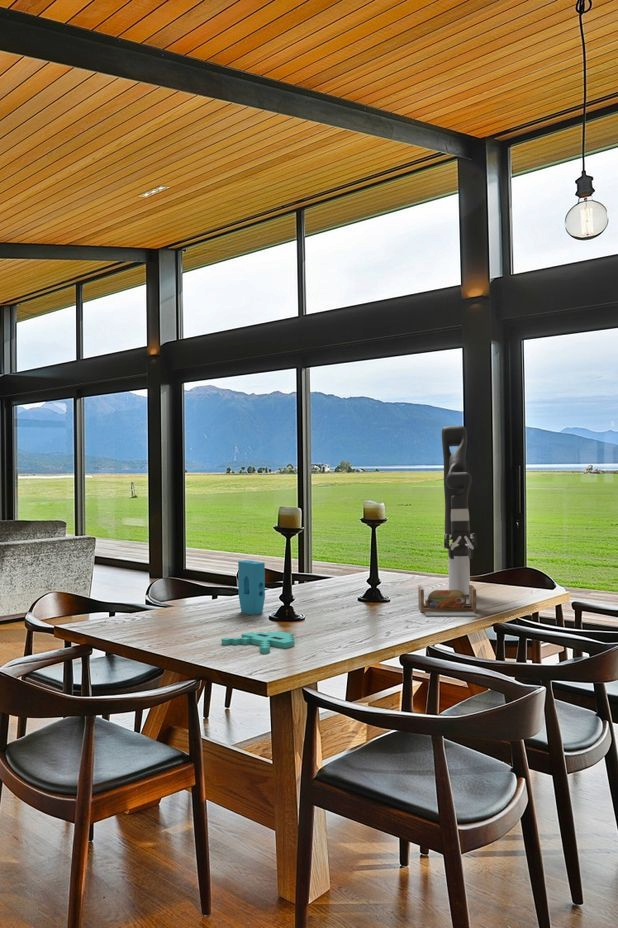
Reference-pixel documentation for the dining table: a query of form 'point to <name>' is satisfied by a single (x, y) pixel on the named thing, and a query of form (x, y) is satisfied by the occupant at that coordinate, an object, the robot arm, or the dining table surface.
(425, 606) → the rack
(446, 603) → the tin
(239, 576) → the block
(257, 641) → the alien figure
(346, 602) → the dining table surface
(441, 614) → the felt mat
